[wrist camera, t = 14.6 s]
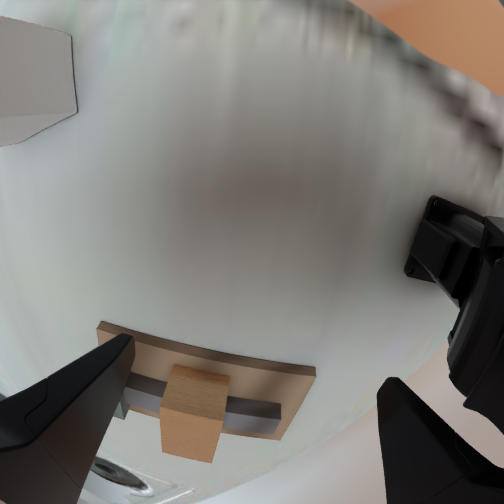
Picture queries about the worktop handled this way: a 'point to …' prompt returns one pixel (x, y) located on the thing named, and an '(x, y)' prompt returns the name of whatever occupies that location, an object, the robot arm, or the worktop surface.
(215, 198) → the worktop surface
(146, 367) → the rail board
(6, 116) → the milk carton
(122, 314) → the worktop surface
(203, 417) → the block
